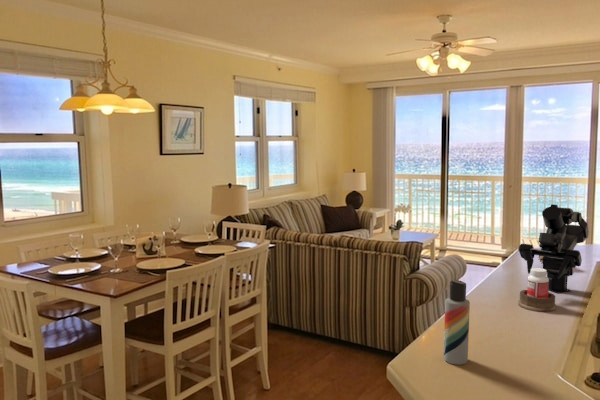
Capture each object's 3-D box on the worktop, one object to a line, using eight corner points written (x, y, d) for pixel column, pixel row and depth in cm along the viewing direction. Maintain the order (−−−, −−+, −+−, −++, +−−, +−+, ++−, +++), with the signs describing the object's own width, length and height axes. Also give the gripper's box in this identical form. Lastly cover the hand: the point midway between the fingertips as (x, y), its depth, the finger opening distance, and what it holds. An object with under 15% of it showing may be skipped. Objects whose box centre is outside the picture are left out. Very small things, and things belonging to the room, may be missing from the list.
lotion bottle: (440, 355, 125) (442, 277, 122) (462, 354, 125) (464, 277, 123) (448, 365, 119) (451, 284, 117) (471, 364, 119) (474, 283, 117)
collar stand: (537, 299, 168) (538, 287, 168) (563, 309, 158) (564, 297, 157) (510, 302, 165) (511, 290, 165) (535, 313, 155) (536, 301, 154)
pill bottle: (549, 302, 162) (551, 269, 161) (545, 307, 157) (547, 273, 156) (528, 298, 166) (530, 266, 164) (524, 303, 161) (526, 270, 159)
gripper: (521, 220, 173) (509, 257, 166) (581, 226, 160) (571, 266, 153) (527, 239, 179) (515, 275, 173) (585, 246, 167) (575, 285, 160)
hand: (543, 275), depth 165 cm, fingers open, 9 cm apart
